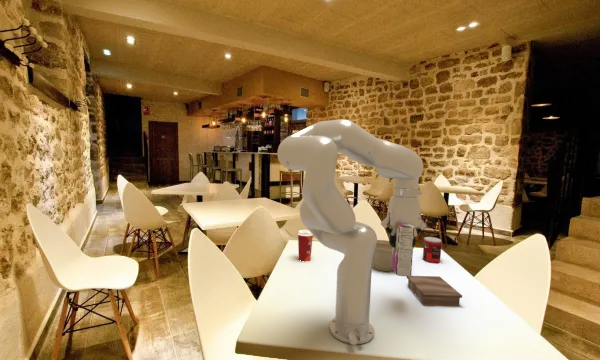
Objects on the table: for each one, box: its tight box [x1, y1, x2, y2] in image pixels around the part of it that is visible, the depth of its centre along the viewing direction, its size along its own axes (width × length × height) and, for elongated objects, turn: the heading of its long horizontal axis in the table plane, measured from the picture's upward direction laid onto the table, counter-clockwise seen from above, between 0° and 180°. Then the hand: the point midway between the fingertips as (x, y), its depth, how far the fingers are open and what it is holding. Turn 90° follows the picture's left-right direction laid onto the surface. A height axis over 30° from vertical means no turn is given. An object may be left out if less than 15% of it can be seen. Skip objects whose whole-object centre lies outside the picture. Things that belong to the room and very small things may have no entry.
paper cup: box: [297, 229, 314, 262], centre depth 142 cm, size 8×8×14 cm
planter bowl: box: [372, 239, 394, 272], centre depth 134 cm, size 16×16×11 cm
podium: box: [406, 275, 463, 307], centre depth 108 cm, size 16×13×4 cm
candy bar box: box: [392, 224, 414, 277], centre depth 99 cm, size 11×5×16 cm, turn 171°
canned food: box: [422, 236, 442, 264], centre depth 145 cm, size 8×8×11 cm
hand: (401, 246), depth 99 cm, fingers closed on candy bar box, 5 cm apart
